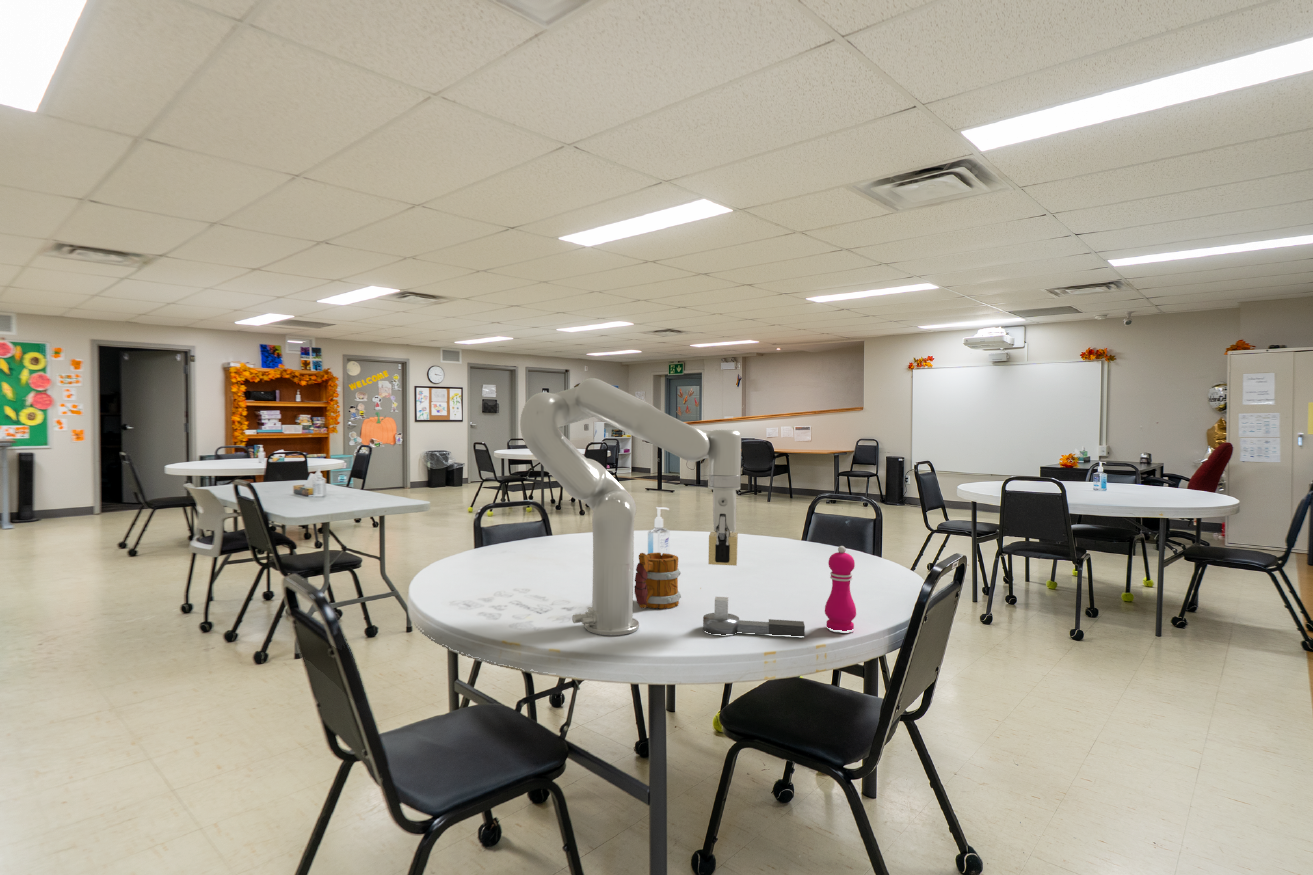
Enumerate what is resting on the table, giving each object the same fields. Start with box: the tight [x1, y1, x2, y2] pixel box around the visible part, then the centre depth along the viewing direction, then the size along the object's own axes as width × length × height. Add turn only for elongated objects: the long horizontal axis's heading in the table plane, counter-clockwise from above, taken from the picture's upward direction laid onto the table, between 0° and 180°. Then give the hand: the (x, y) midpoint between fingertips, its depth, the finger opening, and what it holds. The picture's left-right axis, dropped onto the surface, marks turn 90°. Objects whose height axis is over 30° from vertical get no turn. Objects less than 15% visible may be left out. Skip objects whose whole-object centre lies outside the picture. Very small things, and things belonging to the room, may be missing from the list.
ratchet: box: [702, 596, 806, 637], centre depth 150 cm, size 23×8×8 cm, turn 81°
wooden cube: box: [708, 531, 739, 566], centre depth 151 cm, size 6×6×6 cm
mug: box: [633, 552, 682, 610], centre depth 171 cm, size 11×16×15 cm, turn 146°
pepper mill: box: [824, 545, 857, 631], centre depth 154 cm, size 7×7×20 cm
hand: (723, 558), depth 151 cm, fingers closed on wooden cube, 6 cm apart
